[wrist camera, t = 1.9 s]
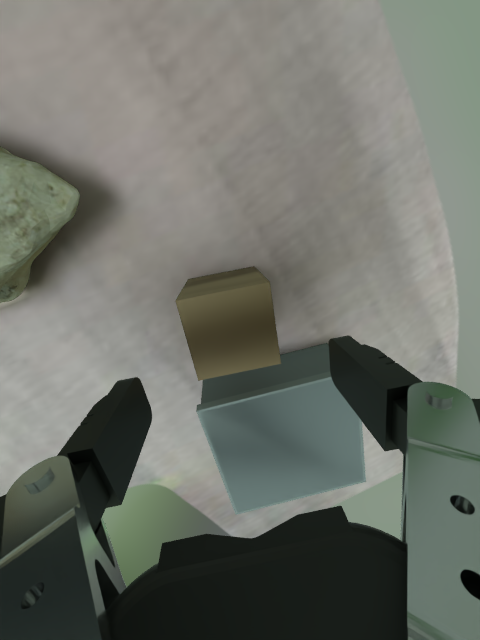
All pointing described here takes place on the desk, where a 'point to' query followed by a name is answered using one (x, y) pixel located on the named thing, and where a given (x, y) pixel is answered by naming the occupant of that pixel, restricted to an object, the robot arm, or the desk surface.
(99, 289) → the desk surface
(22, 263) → the seashell
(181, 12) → the desk surface
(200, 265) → the desk surface
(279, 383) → the grey-green square slab
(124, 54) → the desk surface
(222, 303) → the brass block
